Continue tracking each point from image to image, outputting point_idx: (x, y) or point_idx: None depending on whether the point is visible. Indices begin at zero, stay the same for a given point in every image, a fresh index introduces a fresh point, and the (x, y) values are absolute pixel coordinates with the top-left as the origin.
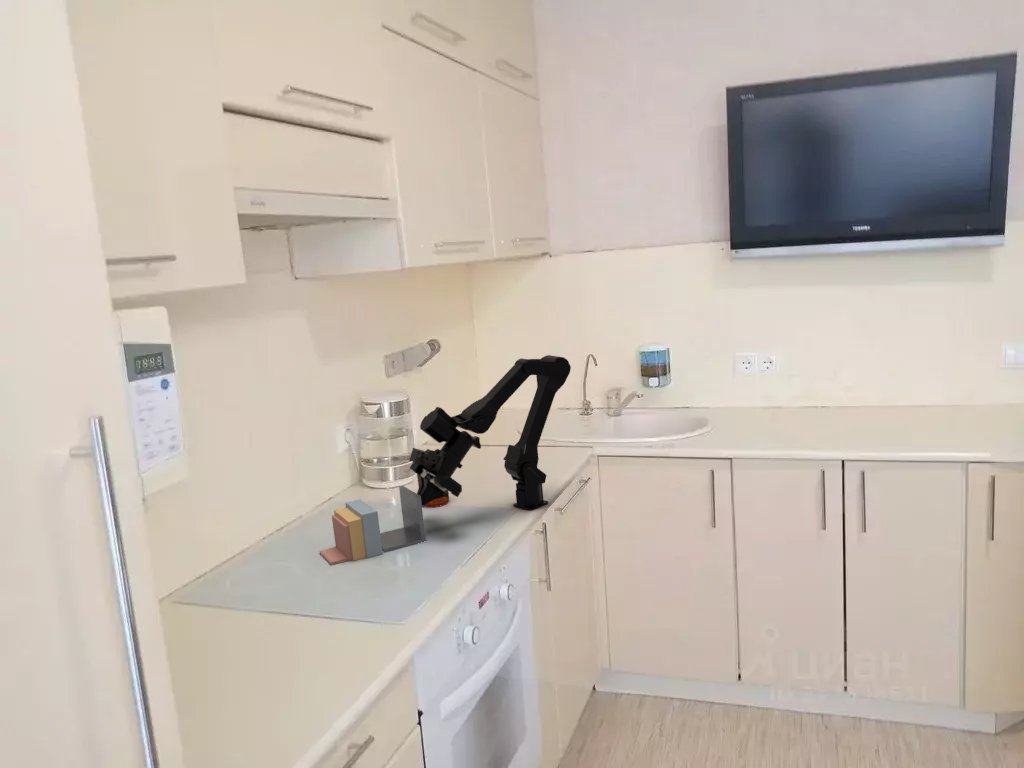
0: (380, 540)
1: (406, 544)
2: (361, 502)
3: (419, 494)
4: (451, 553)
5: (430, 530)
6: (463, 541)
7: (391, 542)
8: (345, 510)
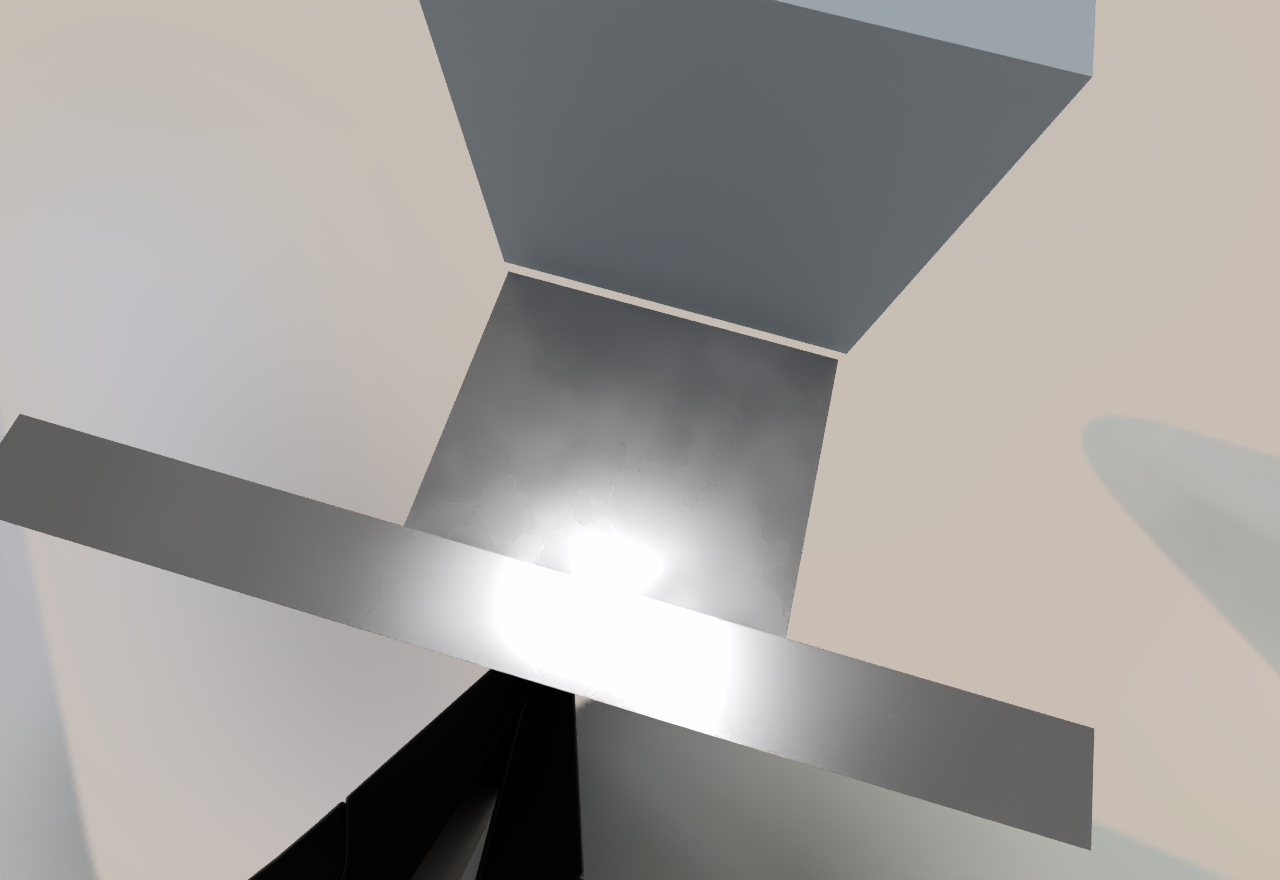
0: (484, 191)
1: (451, 420)
2: (917, 6)
3: (485, 853)
4: None
5: None
6: (65, 769)
7: (572, 372)
8: None
